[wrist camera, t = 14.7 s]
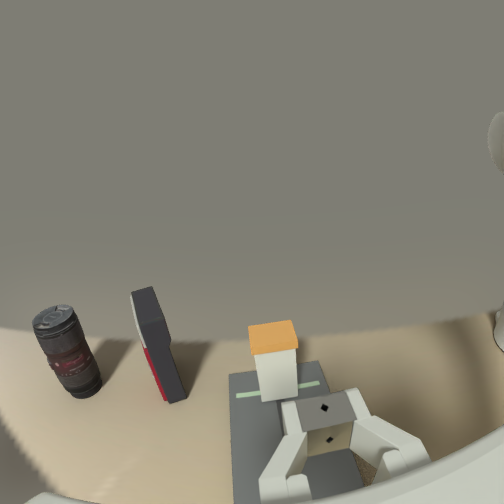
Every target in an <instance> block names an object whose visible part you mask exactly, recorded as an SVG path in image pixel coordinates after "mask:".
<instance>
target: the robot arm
mask: <svg viewBox="0 0 504 504" xmlns="http://www.w3.org/2000/svg"><path fill="white" fill-rule="evenodd" d="M488 146H489V152H490V155H491V157H492V159H493V161H494V163H495V164H496V166H497V167H498V169H499V170H500V171H501V172H502V173H503V174H504V112H500V113H497V114H496V115H495V117H494V118H493V120H492V121H491V124H490V126H489V130H488ZM495 320H496V326H495V329H494V338H495V340H496V342H497V344H498V346H499V347H500V348H501V349H502V350H503V351H504V302H503V305H502V308H501V311H498V312H497V313H496V316H495ZM281 408H282V419H283V427H284V433H285V436H284V437H283V438H282V440H281V442H280V444H279V446H278V447H277V449H276V451H275V453H274V454H273V456H272V458H271V459H270V461H269V463H268V465H267V466H266V468H265V470H264V471H263V473H262V474H261V476H260V478H259V479H258V480H259V490H260V499H261V504H504V424H503V425H502V426H500V427H498V428H497V429H495V430H494V431H492V432H490V433H488V434H487V435H485V436H483V437H482V438H480V439H478V440H476V441H474V442H473V443H471V444H469V445H467V446H465V447H463V448H461V449H459V450H457V451H455V452H453V453H451V454H449V455H447V456H445V457H443V458H441V459H438V460H436V461H434V462H432V460H431V459H430V457H429V455H428V453H427V451H426V449H425V447H424V446H423V444H422V442H421V440H420V439H418V438H417V437H415V436H413V435H411V434H409V433H407V432H405V431H403V430H401V429H399V428H397V427H396V426H394V425H392V424H390V423H388V422H386V421H385V420H383V419H381V418H379V417H377V416H375V415H374V416H371V414H370V412H369V410H368V408H367V406H366V404H365V402H364V399H363V397H362V395H361V393H360V391H359V389H358V388H357V387H356V388H352V389H348V390H344V391H339V392H335V393H330V394H326V395H321V396H318V397H313V398H307V399H301V400H295V401H289V402H282V403H281ZM349 447H350V449H351V450H352V451H353V452H355V453H356V454H357V455H359V456H360V457H361V458H362V459H364V460H365V461H366V462H368V463H369V464H370V465H372V466H373V467H374V468H376V469H377V472H376V475H375V477H374V480H373V482H372V485H370V486H367V487H363V488H360V489H356V490H353V491H349V492H345V493H341V494H337V495H333V496H329V497H325V498H320V499H315V500H312V496H311V492H310V488H309V484H308V480H307V476H306V475H303V474H301V472H302V469H303V467H304V465H305V462H306V460H307V457H310V456H314V455H318V454H323V453H327V452H331V451H336V450H340V449H345V448H349ZM25 504H99V503H94V502H88V501H83V500H79V499H74V498H70V497H66V496H62V495H58V494H54V493H50V492H43V493H41V494H39V495H37V496H35V497H34V498H32V499H30V500H29V501H27V502H26V503H25Z"/></svg>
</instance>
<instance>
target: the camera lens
mask: <svg viewBox="0 0 504 504" xmlns="http://www.w3.org/2000/svg"><path fill="white" fill-rule="evenodd" d="M32 325H33V328H34V333H35V335H36V338H37V340H38V342H39V344H40V346H41V348H42V350H43V351H44V353H45V354H46V356H47V361H48V363H49V365H50V367H51V368H52V370H54V372H55V374H56V376H57V378H58V379H59V381H60V383H61V384H62V385H63V386H64V388H65V389H66V390H67V391H68V392H70V393H71V395H72V396H73V397H75V398H78V399H84V398H88V397H90V396H92V395H94V394H95V393H96V392H98V390H99V389H100V387H101V385H102V380H101V377H100V371H99V369H98V365H97V363H96V361H95V359H94V356H93V354H92V353H91V351H90V348H89V346H88V344H87V342H86V340H85V336H84V333H83V330H82V327H81V325H80V322H79V320H78V317H77V315H76V314H75V312H74V310H73V308H72V307H71V306H68V305H57V306H53V307H50V308H48V309H45V310H43V311H42V312H40V313H39V314H38V315H37V316H35V318H34V319H33V321H32Z"/></svg>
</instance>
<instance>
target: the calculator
mask: <svg viewBox="0 0 504 504" xmlns="http://www.w3.org/2000/svg"><path fill="white" fill-rule="evenodd" d="M131 294H132V296H130V299H131V304H132V308H133V313H134V318H135V322H136V327H137V330H138V332H139V335H140V338H141V342H142V346H143V349H144V353H145V356H146V358H147V361H148V364H149V367H150V371H151V372H152V375H153V378H155V380H156V383H157V385H158V388H159V390H160V392H161V394H162V397H163V399H164V401H167V400H168V402H169V404H171V403H174V402H177V401H180V400H183V399H186V398H187V396H186V394H185V391H184V388H183V386H182V383H181V380H180V377H179V375H178V372H177V369H176V366H175V363H174V360H173V357H172V354H171V351H170V348H169V345H170V342H171V337H170V334H169V331H168V328H167V324H166V321H165V318H164V315H163V313H162V310H161V308H160V305H159V303H158V300H157V298H156V295H155V292H154V290H153V287H152V286H151V287H147V288H144V289H140V290H137V291H133V292H131Z"/></svg>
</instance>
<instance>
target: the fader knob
mask: <svg viewBox="0 0 504 504" xmlns="http://www.w3.org/2000/svg"><path fill="white" fill-rule="evenodd" d="M248 330H249V339H250V348H251V354H252V355H254V356H255V362H256V368H257V375H258V381H259V387H260V393H261V399H262V402H266V401H272V400H279V399H285V398H291V397H296V396H298V385H297V367H296V350H295V348H298V339H297V336H296V333H295V330H294V328H293V325H292V322H291V320H286V321H280V322H274V323H267V324H260V325H253V326H248Z"/></svg>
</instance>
